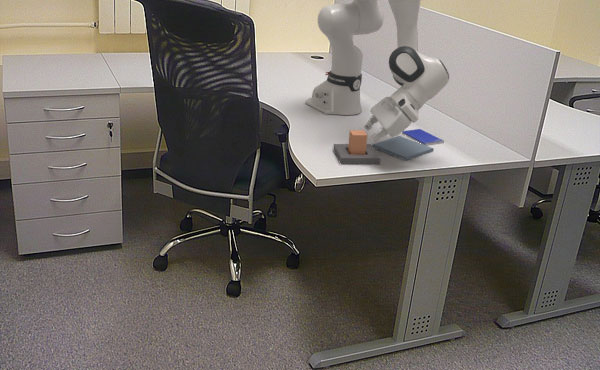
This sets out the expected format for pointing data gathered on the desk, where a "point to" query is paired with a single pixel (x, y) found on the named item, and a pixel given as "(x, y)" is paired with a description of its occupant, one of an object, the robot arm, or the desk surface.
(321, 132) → the desk surface
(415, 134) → the hard drive
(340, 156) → the pocket holder
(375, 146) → the slate mat
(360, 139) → the terracotta block
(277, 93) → the desk surface
